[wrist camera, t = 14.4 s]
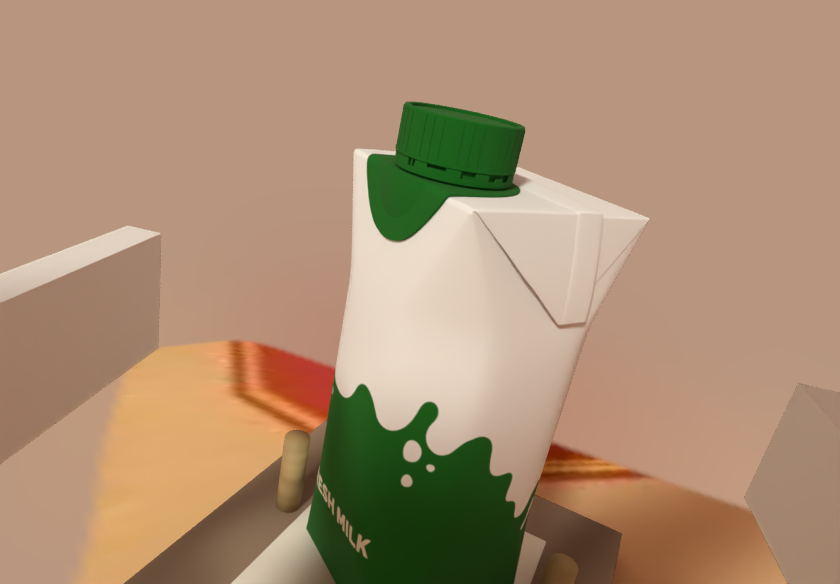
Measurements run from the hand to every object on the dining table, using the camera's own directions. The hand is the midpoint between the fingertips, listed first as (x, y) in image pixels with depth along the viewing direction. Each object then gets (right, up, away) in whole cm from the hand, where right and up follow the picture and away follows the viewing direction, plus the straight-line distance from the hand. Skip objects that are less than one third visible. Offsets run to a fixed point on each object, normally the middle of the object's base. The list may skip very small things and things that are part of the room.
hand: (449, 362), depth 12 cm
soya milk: (-1, -11, +15) cm, 19 cm away
